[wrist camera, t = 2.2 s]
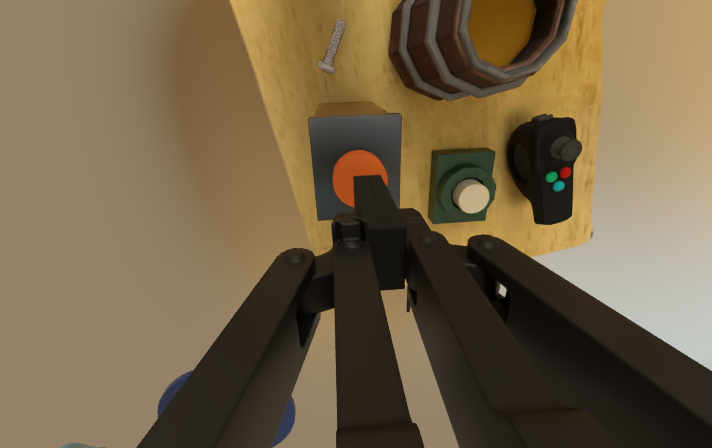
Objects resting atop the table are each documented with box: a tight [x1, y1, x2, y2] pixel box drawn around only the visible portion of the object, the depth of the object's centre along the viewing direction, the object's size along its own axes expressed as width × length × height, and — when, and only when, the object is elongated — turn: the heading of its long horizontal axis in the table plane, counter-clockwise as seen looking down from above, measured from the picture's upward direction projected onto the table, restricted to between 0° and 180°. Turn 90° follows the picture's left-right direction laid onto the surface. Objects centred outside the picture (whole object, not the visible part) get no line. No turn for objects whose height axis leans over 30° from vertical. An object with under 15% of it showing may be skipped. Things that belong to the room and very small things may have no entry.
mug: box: [389, 0, 578, 101], centre depth 26 cm, size 16×12×15 cm
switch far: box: [428, 148, 496, 224], centre depth 40 cm, size 9×7×4 cm
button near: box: [333, 150, 388, 207], centre depth 21 cm, size 4×4×2 cm
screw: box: [317, 19, 346, 73], centre depth 33 cm, size 2×5×2 cm, turn 158°
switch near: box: [308, 102, 402, 221], centre depth 30 cm, size 8×6×16 cm
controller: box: [507, 114, 582, 225], centre depth 36 cm, size 4×12×10 cm, turn 17°
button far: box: [453, 179, 489, 213], centre depth 37 cm, size 4×4×2 cm
